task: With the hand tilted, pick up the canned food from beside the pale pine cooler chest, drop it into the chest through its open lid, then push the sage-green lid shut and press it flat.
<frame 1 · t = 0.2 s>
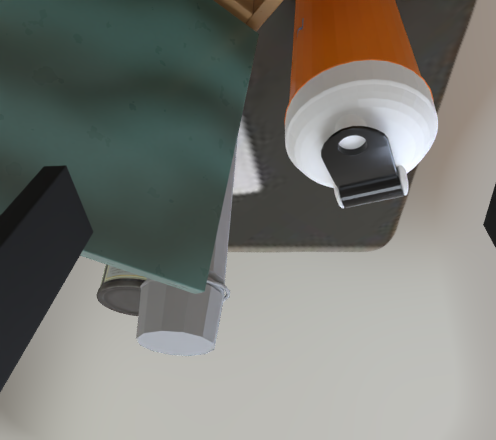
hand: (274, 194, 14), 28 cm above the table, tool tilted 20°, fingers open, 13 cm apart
water bottle: (210, 131, 50), on the table
coffee can: (154, 214, 65), on the table
chest lid: (76, 60, 18), point 21 cm above the table, hinge at 100.8°
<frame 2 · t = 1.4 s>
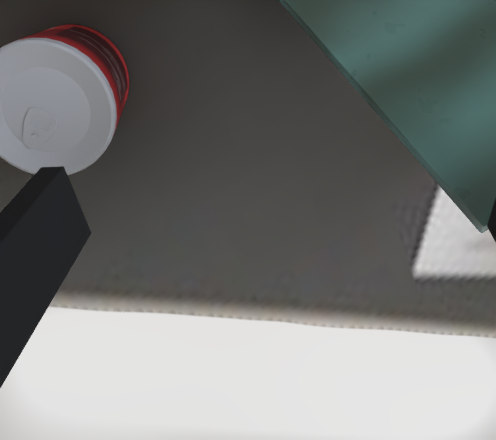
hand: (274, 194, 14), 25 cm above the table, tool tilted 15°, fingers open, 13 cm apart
canned food: (80, 77, 34), on the table
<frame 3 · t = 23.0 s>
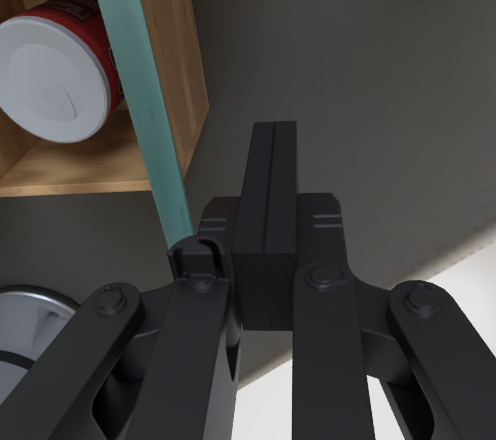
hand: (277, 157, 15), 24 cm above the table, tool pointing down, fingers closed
chest: (110, 24, 36), on the table
canned food: (105, 36, 36), point 1 cm above the table, touching chest
chest lid: (161, 131, 18), point 21 cm above the table, hinge at 107.6°, touching gripper
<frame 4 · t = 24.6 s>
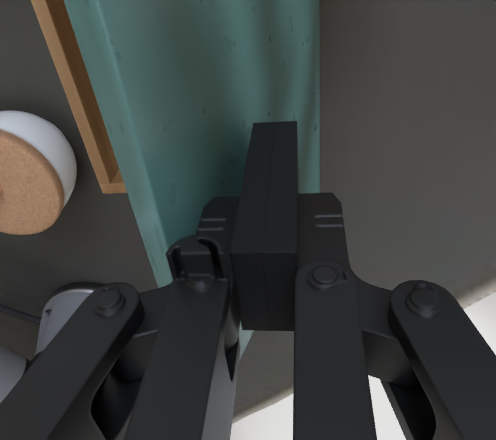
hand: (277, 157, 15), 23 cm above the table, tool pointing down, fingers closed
chest: (217, 13, 34), on the table
trinket box: (40, 143, 43), on the table
chest lid: (259, 131, 17), point 21 cm above the table, hinge at 72.9°
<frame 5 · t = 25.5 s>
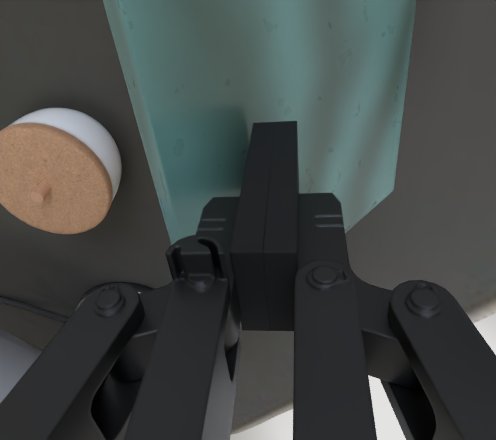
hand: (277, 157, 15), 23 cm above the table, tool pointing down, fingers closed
trinket box: (83, 141, 43), on the table
chest lid: (309, 113, 18), point 20 cm above the table, hinge at 51.1°
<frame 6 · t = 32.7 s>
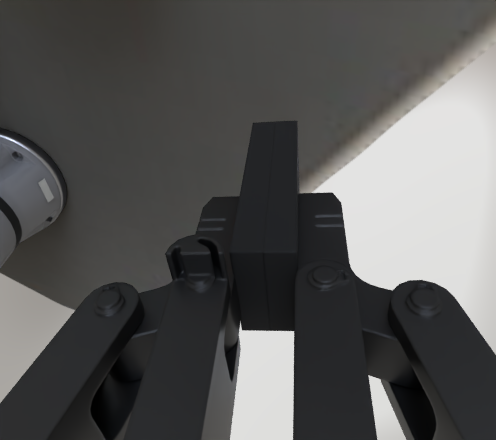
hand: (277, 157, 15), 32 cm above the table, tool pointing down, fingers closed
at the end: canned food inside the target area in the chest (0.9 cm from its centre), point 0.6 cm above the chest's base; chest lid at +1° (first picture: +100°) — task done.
